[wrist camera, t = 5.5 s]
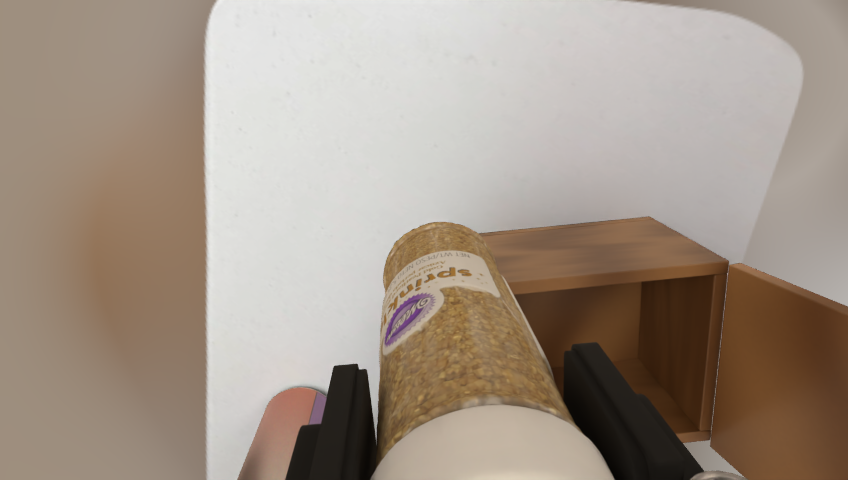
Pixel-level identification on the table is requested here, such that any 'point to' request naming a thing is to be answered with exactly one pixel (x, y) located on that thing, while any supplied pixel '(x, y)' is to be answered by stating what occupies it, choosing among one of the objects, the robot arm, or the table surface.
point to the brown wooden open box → (625, 306)
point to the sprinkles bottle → (467, 373)
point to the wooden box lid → (781, 381)
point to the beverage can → (281, 432)
